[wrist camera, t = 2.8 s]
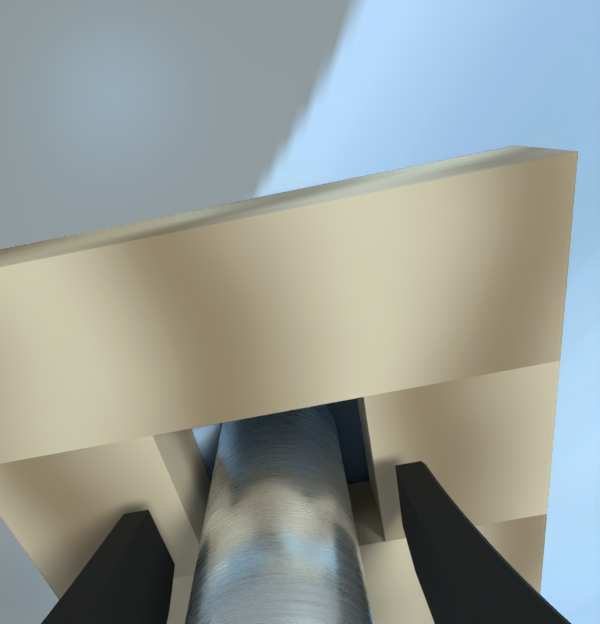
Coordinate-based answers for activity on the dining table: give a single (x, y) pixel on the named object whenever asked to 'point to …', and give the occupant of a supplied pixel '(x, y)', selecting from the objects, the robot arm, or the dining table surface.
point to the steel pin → (279, 527)
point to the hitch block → (295, 358)
